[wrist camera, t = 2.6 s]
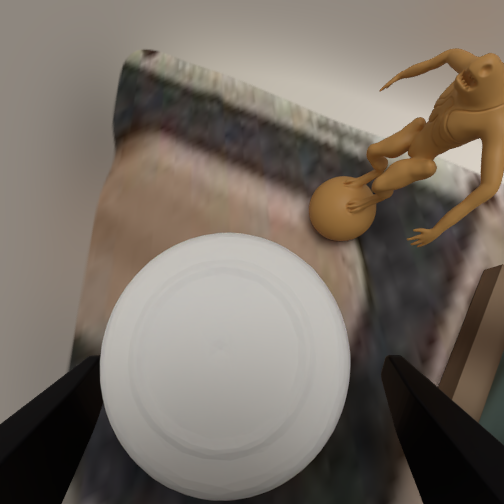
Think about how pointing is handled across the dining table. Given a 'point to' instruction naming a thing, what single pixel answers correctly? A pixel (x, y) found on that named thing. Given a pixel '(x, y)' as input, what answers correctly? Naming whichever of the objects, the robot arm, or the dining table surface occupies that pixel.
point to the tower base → (481, 357)
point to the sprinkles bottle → (225, 366)
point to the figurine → (424, 150)
